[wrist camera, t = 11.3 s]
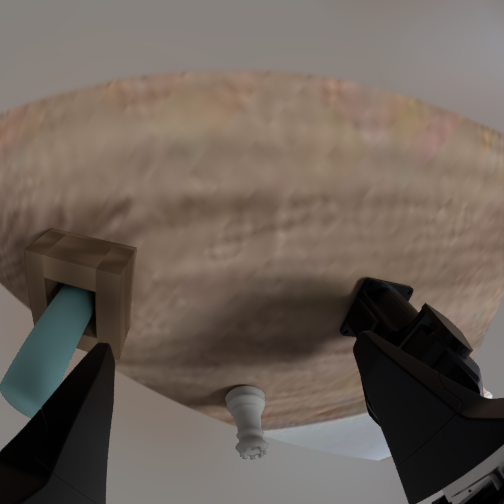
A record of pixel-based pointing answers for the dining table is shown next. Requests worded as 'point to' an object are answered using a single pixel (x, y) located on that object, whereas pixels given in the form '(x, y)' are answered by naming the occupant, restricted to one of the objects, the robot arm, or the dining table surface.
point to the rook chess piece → (248, 419)
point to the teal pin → (48, 350)
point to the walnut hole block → (84, 282)
